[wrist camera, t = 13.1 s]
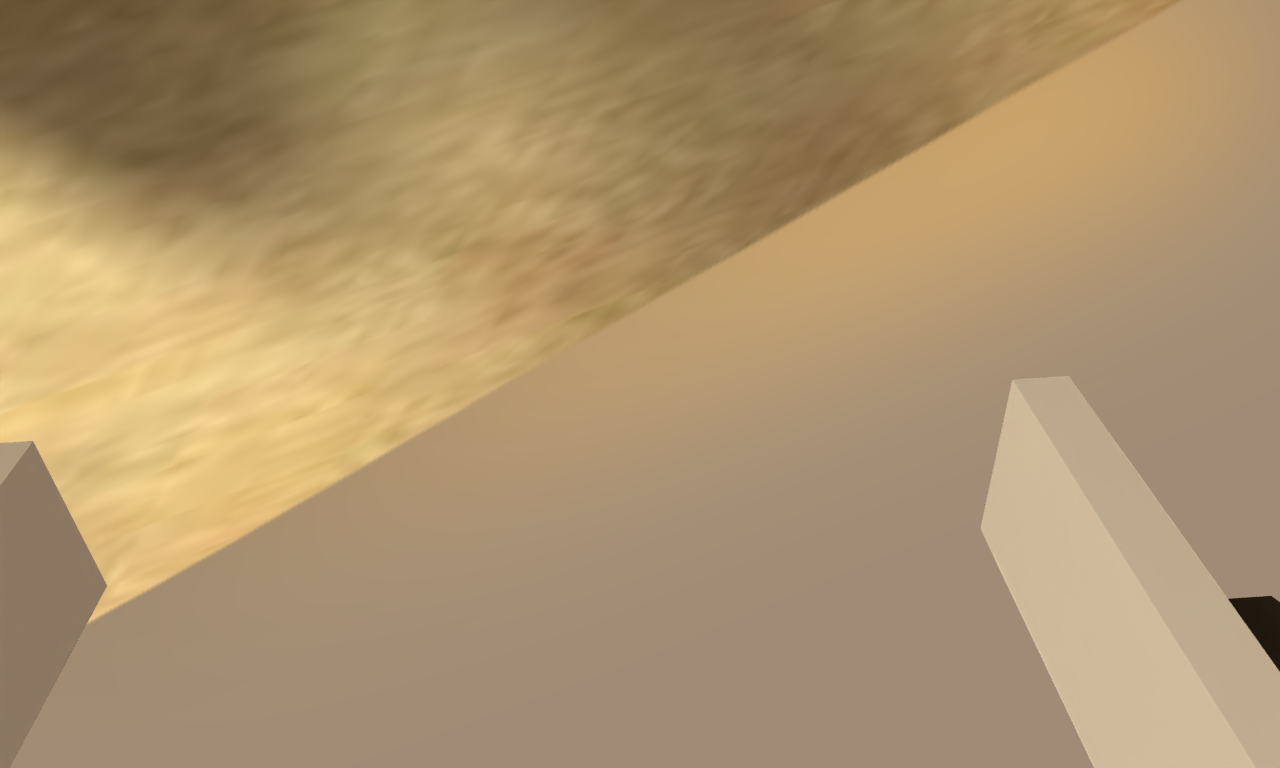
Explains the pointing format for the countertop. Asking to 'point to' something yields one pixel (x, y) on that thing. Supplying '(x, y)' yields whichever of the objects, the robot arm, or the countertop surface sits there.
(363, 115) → the countertop surface
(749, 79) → the countertop surface
